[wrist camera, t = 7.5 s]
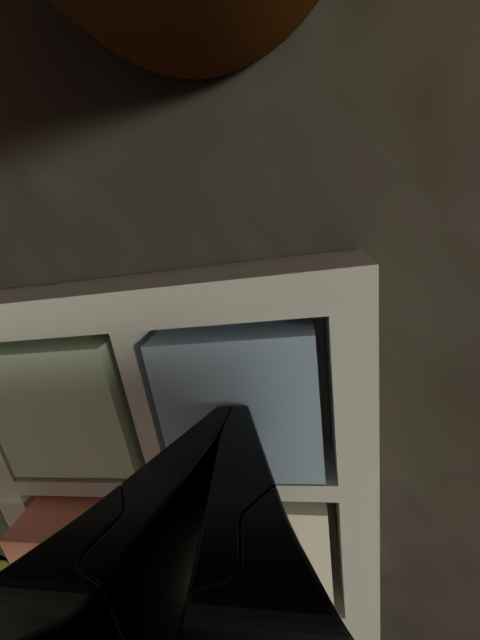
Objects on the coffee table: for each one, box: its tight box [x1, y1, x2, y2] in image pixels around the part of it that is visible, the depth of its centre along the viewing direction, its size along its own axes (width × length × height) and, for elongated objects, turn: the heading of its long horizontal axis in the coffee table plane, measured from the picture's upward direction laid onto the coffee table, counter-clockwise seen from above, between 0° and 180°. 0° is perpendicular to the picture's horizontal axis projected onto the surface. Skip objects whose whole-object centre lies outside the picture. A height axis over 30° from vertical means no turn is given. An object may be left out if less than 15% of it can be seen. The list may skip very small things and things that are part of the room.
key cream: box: [282, 501, 334, 605], centre depth 12 cm, size 4×4×2 cm
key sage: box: [0, 334, 145, 478], centre depth 11 cm, size 4×4×2 cm
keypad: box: [0, 249, 380, 640], centre depth 12 cm, size 13×13×3 cm
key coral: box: [0, 496, 103, 564], centre depth 11 cm, size 4×4×2 cm
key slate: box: [140, 318, 326, 484], centre depth 10 cm, size 4×4×2 cm
